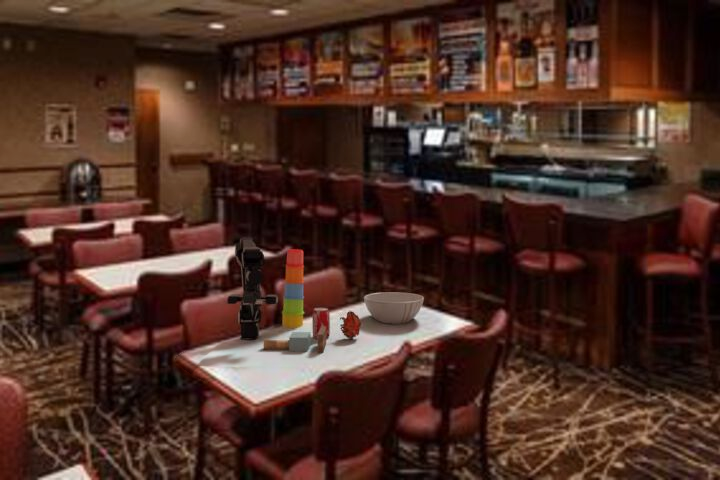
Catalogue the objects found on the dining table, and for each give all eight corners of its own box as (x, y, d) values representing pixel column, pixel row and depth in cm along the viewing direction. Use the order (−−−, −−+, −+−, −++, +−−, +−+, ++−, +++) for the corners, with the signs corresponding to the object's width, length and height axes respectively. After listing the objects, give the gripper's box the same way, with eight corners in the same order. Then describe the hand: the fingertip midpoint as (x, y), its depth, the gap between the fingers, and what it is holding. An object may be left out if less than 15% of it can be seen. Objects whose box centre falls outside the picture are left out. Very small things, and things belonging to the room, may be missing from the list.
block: (289, 351, 257) (289, 337, 256) (292, 345, 266) (292, 332, 266) (307, 351, 257) (307, 337, 256) (310, 345, 266) (310, 332, 265)
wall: (317, 352, 254) (317, 334, 254) (321, 343, 268) (321, 326, 267) (323, 352, 254) (322, 334, 253) (326, 343, 268) (326, 326, 267)
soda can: (327, 340, 274) (327, 311, 273) (310, 339, 275) (310, 310, 274) (331, 336, 281) (331, 307, 280) (315, 335, 282) (314, 307, 281)
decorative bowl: (426, 330, 291) (426, 302, 290) (363, 330, 292) (363, 302, 291) (421, 317, 318) (421, 292, 317) (364, 317, 318) (364, 292, 317)
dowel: (264, 350, 261) (263, 347, 258) (265, 342, 263) (264, 338, 260) (290, 351, 260) (289, 347, 257) (291, 342, 262) (290, 338, 259)
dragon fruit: (350, 335, 282) (350, 307, 281) (366, 338, 276) (366, 309, 275) (336, 339, 275) (336, 310, 274) (352, 342, 270) (352, 312, 269)
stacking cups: (287, 325, 301) (286, 248, 298) (308, 327, 297) (307, 249, 294) (276, 330, 292) (275, 250, 288) (297, 332, 288) (297, 251, 285)
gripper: (223, 284, 252) (224, 325, 254) (273, 284, 251) (274, 326, 253) (230, 279, 263) (231, 319, 265) (278, 280, 262) (278, 319, 264)
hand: (253, 321), depth 261 cm, fingers closed
